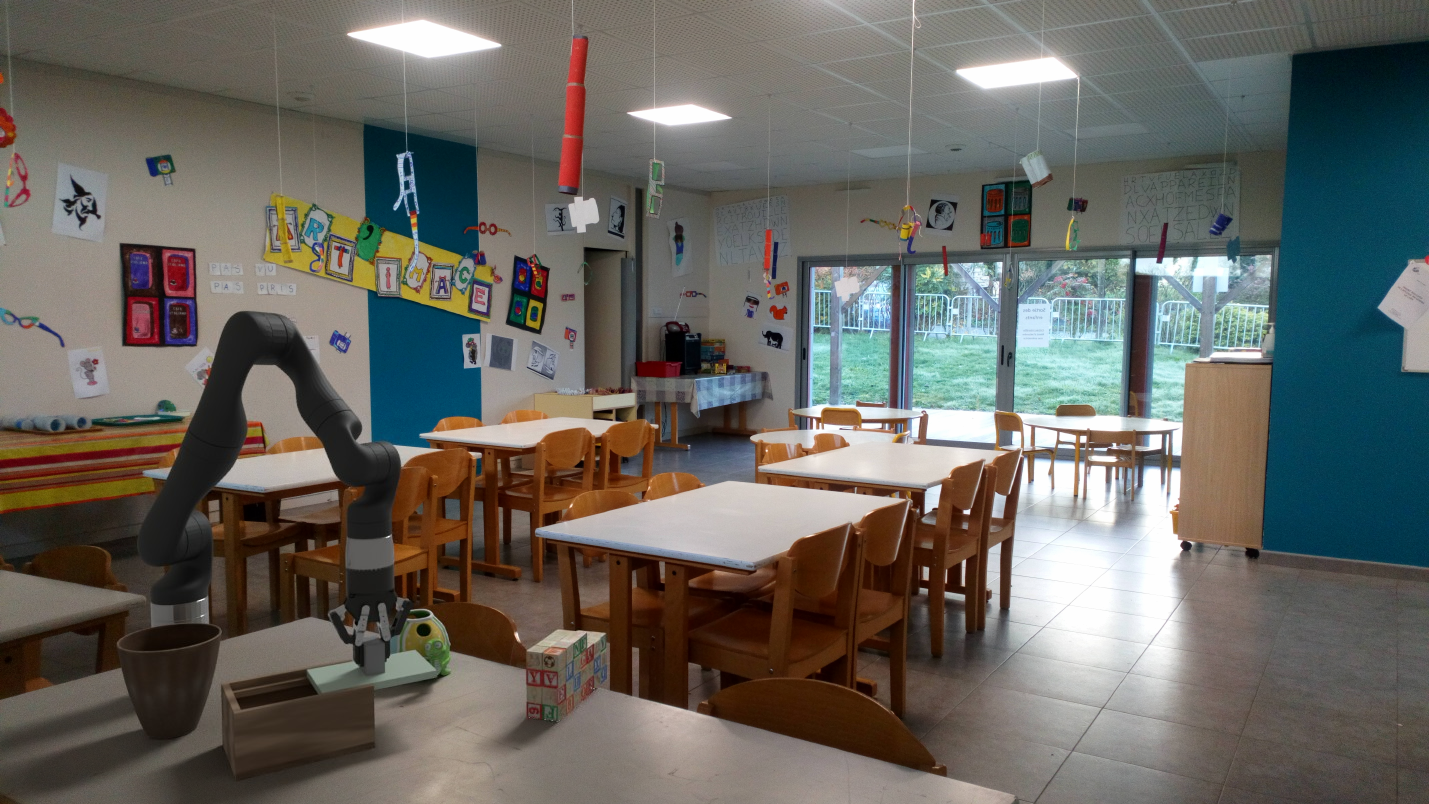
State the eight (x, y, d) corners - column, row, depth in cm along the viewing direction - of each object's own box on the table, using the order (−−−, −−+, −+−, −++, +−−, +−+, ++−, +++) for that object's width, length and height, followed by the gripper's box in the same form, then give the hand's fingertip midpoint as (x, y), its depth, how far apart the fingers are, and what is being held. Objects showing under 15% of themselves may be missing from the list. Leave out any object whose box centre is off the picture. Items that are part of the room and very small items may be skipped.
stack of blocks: (578, 675, 180) (578, 614, 179) (607, 679, 178) (607, 617, 177) (525, 718, 159) (525, 649, 158) (558, 723, 157) (558, 653, 156)
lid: (306, 676, 153) (306, 640, 152) (415, 656, 163) (414, 622, 163) (322, 700, 143) (321, 661, 143) (436, 677, 153) (436, 641, 153)
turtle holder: (405, 699, 167) (404, 635, 166) (375, 669, 181) (374, 610, 180) (470, 684, 174) (469, 622, 173) (436, 657, 189) (435, 600, 188)
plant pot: (217, 704, 163) (214, 616, 162) (230, 734, 151) (227, 640, 150) (117, 724, 154) (114, 632, 153) (122, 758, 142) (119, 657, 141)
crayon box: (222, 744, 147) (220, 682, 147) (352, 715, 159) (351, 658, 158) (236, 780, 135) (234, 713, 135) (374, 747, 147) (374, 685, 146)
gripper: (406, 552, 159) (407, 649, 160) (320, 562, 151) (322, 665, 152) (419, 561, 153) (420, 662, 154) (330, 572, 145) (332, 679, 146)
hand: (371, 662), depth 153 cm, fingers closed on lid, 3 cm apart
